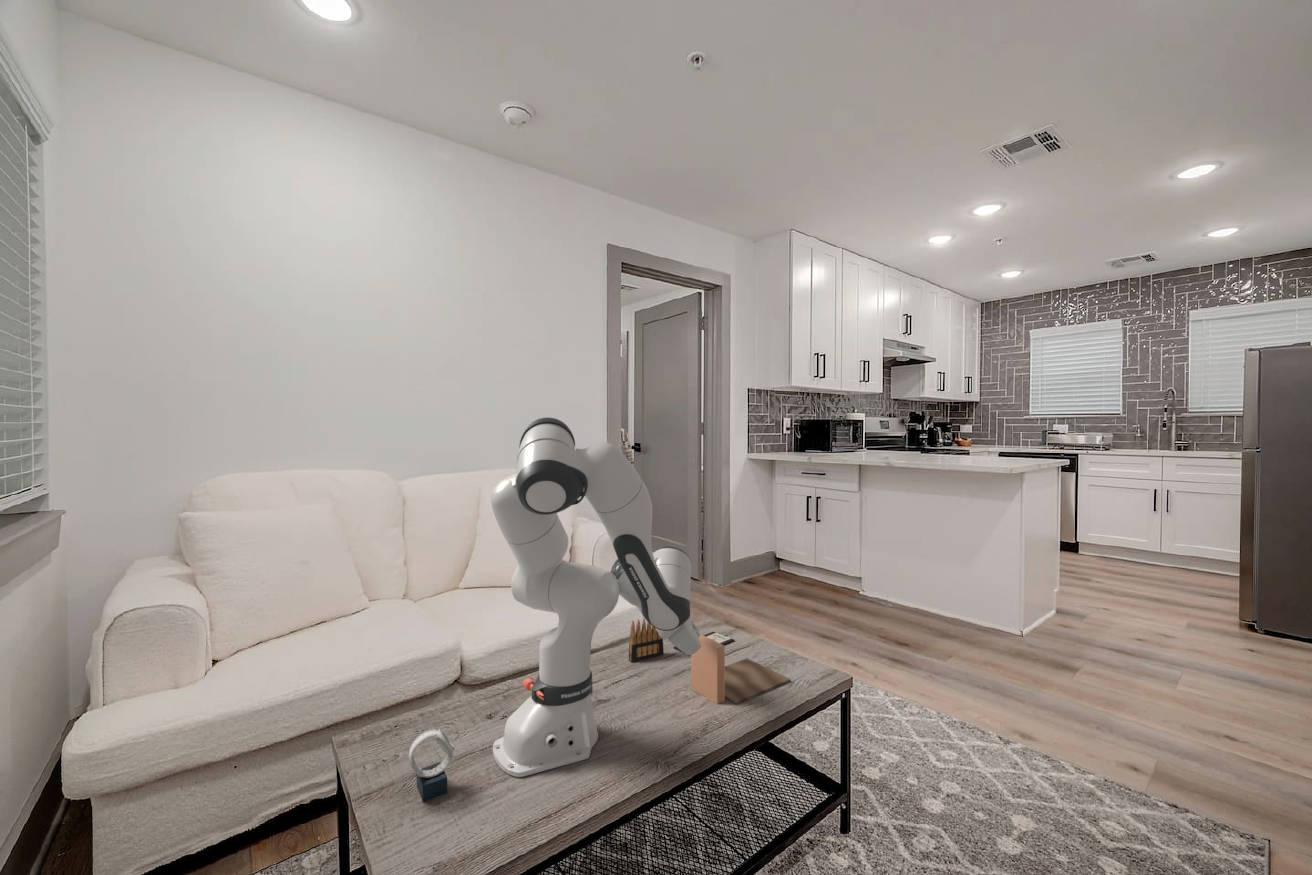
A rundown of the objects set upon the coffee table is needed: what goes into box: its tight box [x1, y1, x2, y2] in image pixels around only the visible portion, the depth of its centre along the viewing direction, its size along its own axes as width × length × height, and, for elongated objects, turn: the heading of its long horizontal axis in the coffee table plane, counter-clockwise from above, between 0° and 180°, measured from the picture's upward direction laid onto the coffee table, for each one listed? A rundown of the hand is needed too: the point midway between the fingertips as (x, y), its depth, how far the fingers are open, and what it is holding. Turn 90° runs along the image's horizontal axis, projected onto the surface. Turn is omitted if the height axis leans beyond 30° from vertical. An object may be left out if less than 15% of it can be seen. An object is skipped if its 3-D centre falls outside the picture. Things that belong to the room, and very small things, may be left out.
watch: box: [408, 728, 455, 803], centre depth 104 cm, size 6×8×11 cm
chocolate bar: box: [673, 631, 735, 657], centre depth 171 cm, size 9×1×18 cm
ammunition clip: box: [628, 617, 664, 664], centre depth 161 cm, size 11×2×12 cm, turn 118°
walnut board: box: [725, 658, 791, 705], centre depth 147 cm, size 20×16×1 cm
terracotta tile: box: [690, 633, 726, 705], centre depth 140 cm, size 3×10×14 cm, turn 36°
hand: (696, 633), depth 135 cm, fingers closed
